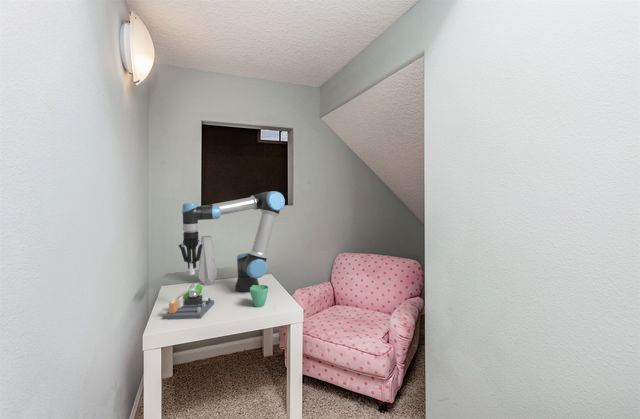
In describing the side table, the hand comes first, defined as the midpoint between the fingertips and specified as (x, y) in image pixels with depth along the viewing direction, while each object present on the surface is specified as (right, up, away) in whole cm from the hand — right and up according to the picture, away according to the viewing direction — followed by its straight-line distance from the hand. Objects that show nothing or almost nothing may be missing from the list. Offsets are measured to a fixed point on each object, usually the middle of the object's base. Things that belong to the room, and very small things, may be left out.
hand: (192, 274), depth 168 cm
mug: (+36, -17, +2) cm, 39 cm away
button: (0, -13, +1) cm, 13 cm away
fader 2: (-4, -16, -6) cm, 18 cm away
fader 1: (-4, -16, -13) cm, 21 cm away
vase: (-8, -16, +46) cm, 49 cm away
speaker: (-5, -18, +14) cm, 23 cm away
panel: (+2, -18, -6) cm, 19 cm away
